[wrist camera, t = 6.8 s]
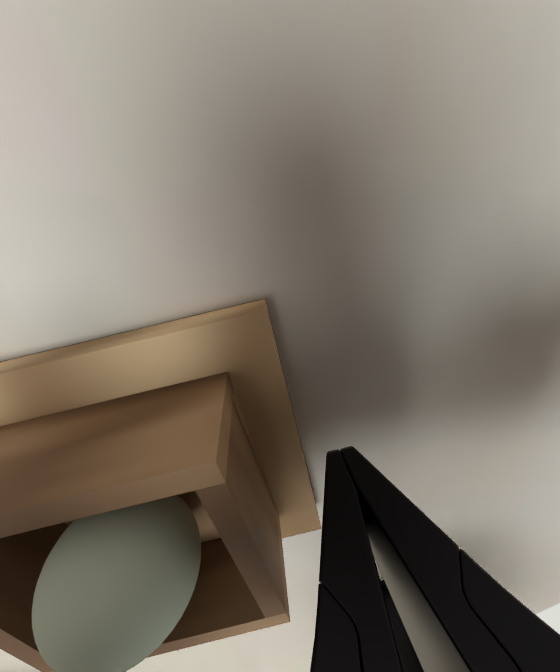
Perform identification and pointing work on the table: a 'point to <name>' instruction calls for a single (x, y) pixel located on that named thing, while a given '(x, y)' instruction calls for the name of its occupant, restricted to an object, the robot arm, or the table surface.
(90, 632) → the sage ball
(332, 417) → the table surface
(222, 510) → the walnut box
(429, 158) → the table surface
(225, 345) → the flat board
